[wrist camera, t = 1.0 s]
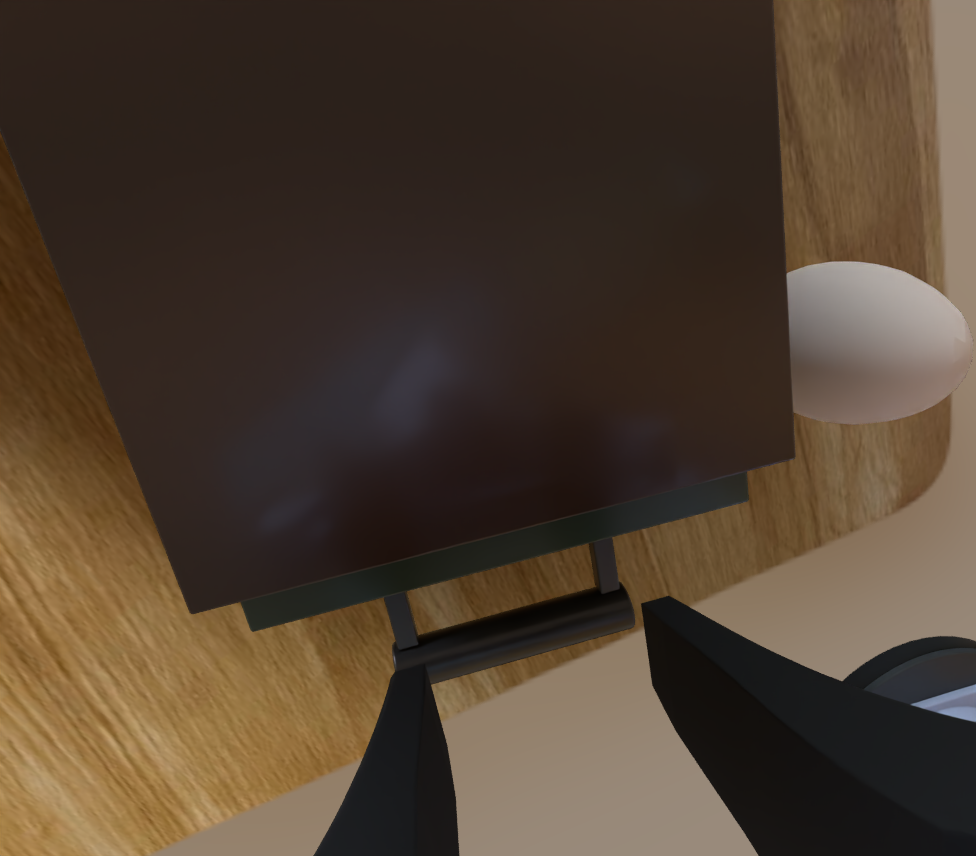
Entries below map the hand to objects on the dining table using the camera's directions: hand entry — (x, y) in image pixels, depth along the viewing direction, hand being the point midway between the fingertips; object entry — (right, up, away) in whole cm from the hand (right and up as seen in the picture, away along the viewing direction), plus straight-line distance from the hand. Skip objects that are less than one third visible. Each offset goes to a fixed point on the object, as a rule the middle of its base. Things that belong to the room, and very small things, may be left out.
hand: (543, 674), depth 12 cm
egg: (+9, +8, +9) cm, 15 cm away
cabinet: (-4, +12, +6) cm, 14 cm away
